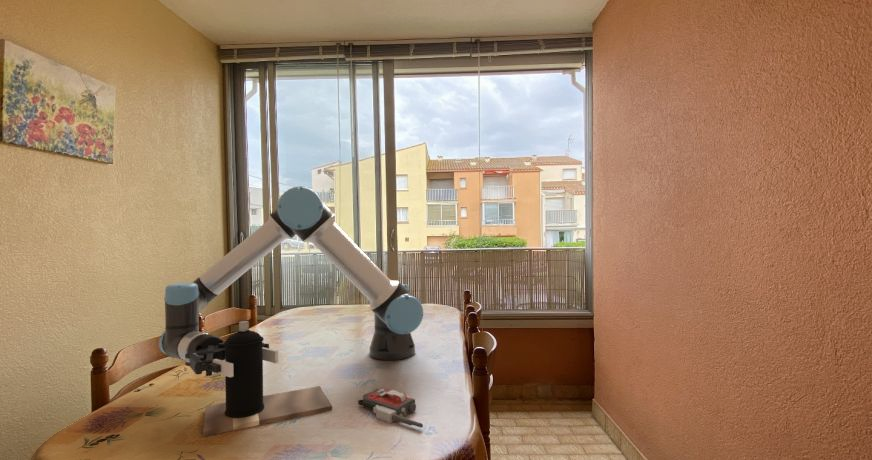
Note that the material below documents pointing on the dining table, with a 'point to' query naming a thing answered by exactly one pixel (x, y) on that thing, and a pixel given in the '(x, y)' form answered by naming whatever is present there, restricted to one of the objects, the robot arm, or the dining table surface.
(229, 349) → the aerosol can
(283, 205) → the robot arm
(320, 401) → the board
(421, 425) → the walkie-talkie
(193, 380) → the dining table surface
